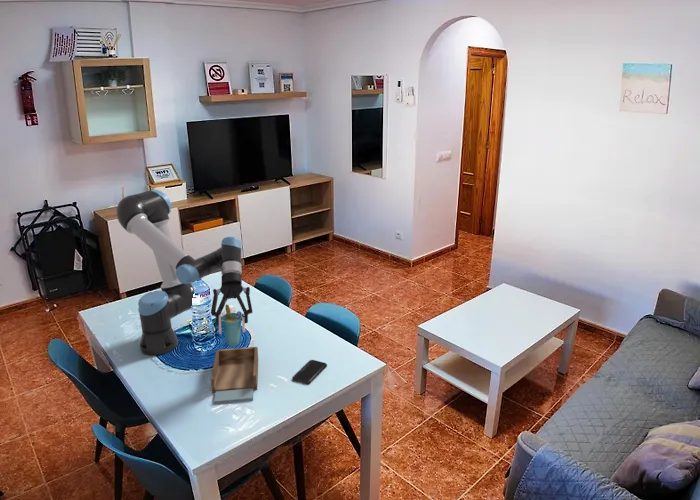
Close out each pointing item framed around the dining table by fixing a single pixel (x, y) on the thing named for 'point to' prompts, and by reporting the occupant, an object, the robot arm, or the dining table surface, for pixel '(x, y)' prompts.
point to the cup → (232, 326)
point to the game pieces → (232, 309)
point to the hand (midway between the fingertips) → (232, 332)
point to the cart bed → (235, 369)
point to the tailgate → (233, 395)
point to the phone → (309, 372)
